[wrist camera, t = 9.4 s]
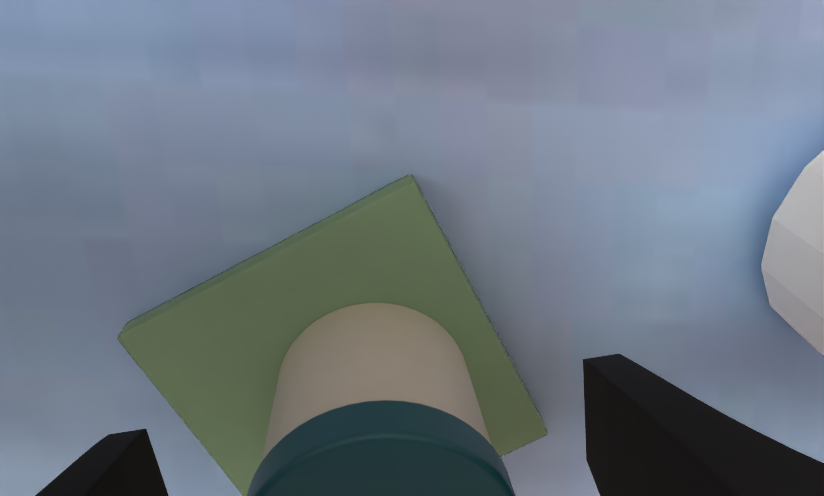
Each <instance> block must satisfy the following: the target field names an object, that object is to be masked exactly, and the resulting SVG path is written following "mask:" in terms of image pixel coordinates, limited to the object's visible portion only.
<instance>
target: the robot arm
mask: <svg viewBox="0 0 824 496" xmlns="http://www.w3.org/2000/svg"><path fill="white" fill-rule="evenodd" d="M583 372H584V400H585V429H586V457H587V462H588V465H589V467H590V470H591V473H592V475H593V478H594V480H595V483H596V486H597V488H598V491H599V493H600V496H824V463H822V462H820V461H817V460H815V459H813V458H811V457H809V456H806V455H804V454H802V453H800V452H798V451H796V450H793V449H791V448H789V447H787V446H785V445H783V444H781V443H779V442H777V441H775V440H773V439H771V438H769V437H767V436H765V435H763V434H761V433H759V432H757V431H755V430H753V429H751V428H749V427H747V426H746V425H744V424H742V423H740V422H738V421H736V420H734V419H732V418H731V417H729V416H727V415H725V414H723V413H721V412H720V411H718V410H716V409H714V408H712V407H711V406H709V405H707V404H705V403H704V402H702V401H700V400H698V399H697V398H695V397H693V396H691V395H690V394H688V393H686V392H684V391H683V390H681V389H679V388H678V387H676V386H674V385H673V384H671V383H669V382H668V381H666V380H664V379H662V378H661V377H659V376H657V375H656V374H654V373H652V372H651V371H649V370H647V369H646V368H644V367H642V366H641V365H639V364H637V363H635V362H634V361H632V360H630V359H628V358H626V357H624V356H623V355H621V354H615V355H608V356H602V357H596V358H589V359H583ZM36 496H168V493H167V490H166V487H165V484H164V481H163V478H162V475H161V472H160V469H159V466H158V463H157V460H156V457H155V454H154V451H153V448H152V445H151V442H150V439H149V436H148V433H147V430H146V429H141V430H134V431H128V432H122V433H115V434H109V435H107V436H106V437H104V438H103V439H102V440H100V441H99V442H98V443H96V444H95V445H94V446H93V447H91V448H90V449H89V450H88V451H87V452H85V453H84V454H83V455H82V456H81V457H79V458H78V459H77V460H76V461H75V462H74V463H72V464H71V465H70V466H69V467H68V468H67V469H66V470H64V471H63V472H62V473H61V474H60V475H59V476H57V477H56V478H55V479H54V480H53V481H52V482H51V483H49V484H48V485H47V486H46V487H45V488H44V489H43V490H41V491H40V492H39V493H38V494H37V495H36Z"/></svg>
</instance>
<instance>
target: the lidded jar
mask: <svg viewBox="0 0 824 496" xmlns="http://www.w3.org/2000/svg"><path fill="white" fill-rule="evenodd" d="M247 496H515V493H514V490H513V487H512V484H511V481H510V478H509V475H508V472H507V470H506V468H505V465H504V463H503V461H502V459H501V457H500V456H499V455H498V453H497V452H496V450H495V449H494V447H493V446H492V445H491V442H490V439H489V435H488V432H487V429H486V426H485V423H484V420H483V416H482V413H481V410H480V407H479V404H478V401H477V398H476V394H475V391H474V388H473V385H472V382H471V379H470V375H469V372H468V369H467V366H466V363H465V360H464V357H463V354H462V352H461V350H460V348H459V346H458V345H457V343H456V342H455V340H454V339H453V337H452V336H451V335H450V334H449V333H448V332H447V331H446V330H445V329H444V328H443V327H442V326H441V325H440V324H438V323H437V322H436V321H434V320H433V319H431V318H430V317H428V316H427V315H425V314H423V313H420V312H418V311H416V310H414V309H411V308H407V307H404V306H400V305H395V304H390V303H363V304H357V305H351V306H348V307H344V308H341V309H338V310H336V311H333V312H331V313H329V314H327V315H325V316H323V317H321V318H320V319H318V320H316V321H315V322H314V323H312V324H311V325H310V326H308V327H307V328H306V329H305V330H304V331H303V332H302V333H301V334H300V335H299V336H298V337H297V338H296V339H295V341H294V342H293V343H292V345H291V346H290V348H289V350H288V351H287V353H286V355H285V357H284V359H283V362H282V365H281V368H280V372H279V377H278V382H277V387H276V392H275V397H274V402H273V407H272V412H271V417H270V422H269V427H268V432H267V436H266V441H265V446H264V451H263V456H262V461H261V464H260V465H259V467H258V469H257V471H256V472H255V474H254V476H253V479H252V481H251V484H250V487H249V489H248V493H247Z"/></svg>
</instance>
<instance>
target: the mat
mask: <svg viewBox="0 0 824 496" xmlns="http://www.w3.org/2000/svg"><path fill="white" fill-rule="evenodd" d="M363 303H390V304H395V305H400V306H404V307H407V308H411V309H414V310H416V311H418V312H420V313H423V314H425V315H427V316H428V317H430V318H431V319H433V320H434V321H436V322H437V323H438V324H440V325H441V326H442V327H443V328H444V329H445V330H446V331H447V332H448V333H449V334H450V335H451V336H452V337H453V339H454V340H455V342H456V343H457V345H458V346H459V348H460V350H461V352H462V354H463V357H464V360H465V363H466V366H467V369H468V372H469V375H470V379H471V382H472V385H473V388H474V391H475V394H476V398H477V401H478V404H479V407H480V410H481V413H482V416H483V420H484V423H485V426H486V429H487V432H488V435H489V439H490V442H491V445H492V446H493V447H494V449H495V450H496V452H497V453H498V455H499V456H500V457H501V456H503V455H505V454H507V453H509V452H511V451H513V450H516V449H518V448H520V447H522V446H524V445H526V444H528V443H530V442H532V441H534V440H537V439H539V438H541V437H543V436H545V435H546V434H547V429H546V427H545V425H544V423H543V420H542V418H541V416H540V414H539V412H538V411H537V409H536V407H535V405H534V403H533V401H532V399H531V397H530V396H529V394H528V392H527V390H526V388H525V386H524V384H523V382H522V380H521V379H520V377H519V375H518V373H517V371H516V369H515V367H514V365H513V364H512V362H511V360H510V358H509V356H508V354H507V352H506V350H505V349H504V347H503V345H502V343H501V341H500V339H499V337H498V335H497V333H496V332H495V330H494V328H493V326H492V324H491V322H490V320H489V318H488V317H487V315H486V313H485V311H484V309H483V307H482V305H481V303H480V302H479V300H478V298H477V296H476V294H475V292H474V290H473V288H472V286H471V285H470V283H469V281H468V279H467V277H466V275H465V273H464V271H463V270H462V268H461V266H460V264H459V262H458V260H457V258H456V256H455V254H454V253H453V251H452V249H451V247H450V245H449V243H448V241H447V239H446V238H445V236H444V234H443V232H442V230H441V228H440V226H439V224H438V223H437V221H436V219H435V217H434V215H433V213H432V211H431V209H430V207H429V206H428V204H427V202H426V200H425V198H424V196H423V194H422V192H421V191H420V189H419V187H418V185H417V183H416V181H415V179H414V177H413V176H412V175H407V176H405V177H403V178H401V179H399V180H397V181H395V182H394V183H392V184H390V185H388V186H386V187H384V188H382V189H380V190H378V191H376V192H375V193H373V194H371V195H369V196H367V197H365V198H363V199H361V200H359V201H357V202H356V203H354V204H352V205H350V206H348V207H346V208H344V209H342V210H340V211H338V212H337V213H335V214H333V215H331V216H329V217H327V218H325V219H323V220H321V221H319V222H318V223H316V224H314V225H312V226H310V227H308V228H306V229H304V230H302V231H300V232H299V233H297V234H295V235H293V236H291V237H289V238H287V239H285V240H283V241H281V242H280V243H278V244H276V245H274V246H272V247H270V248H268V249H266V250H264V251H262V252H261V253H259V254H257V255H255V256H253V257H251V258H249V259H247V260H245V261H243V262H242V263H240V264H238V265H236V266H234V267H232V268H230V269H228V270H226V271H225V272H223V273H221V274H219V275H217V276H215V277H213V278H211V279H209V280H207V281H206V282H204V283H202V284H200V285H198V286H196V287H194V288H192V289H190V290H188V291H187V292H185V293H183V294H181V295H179V296H177V297H175V298H173V299H171V300H169V301H168V302H166V303H164V304H162V305H160V306H158V307H156V308H154V309H152V310H150V311H149V312H147V313H145V314H143V315H141V316H139V317H137V318H135V319H133V320H131V321H130V322H128V323H127V324H126V325H125V327H124V328H123V329H122V331H121V332H120V334H119V335H118V336H117V338H118V340H119V342H120V343H121V344H122V345H123V347H124V348H125V349H126V350H127V352H128V353H129V354H130V355H131V357H132V358H133V359H134V360H135V361H136V363H137V364H138V365H139V366H140V368H141V369H142V370H143V371H144V373H145V374H146V375H147V376H148V378H149V379H150V380H151V381H152V383H153V384H154V385H155V386H156V388H157V389H158V390H159V391H160V393H161V394H162V395H163V396H164V398H165V399H166V400H167V401H168V403H169V404H170V405H171V406H172V408H173V409H174V410H175V411H176V413H177V414H178V415H179V416H180V418H181V419H182V420H183V421H184V423H185V424H186V425H187V426H188V428H189V429H190V430H191V431H192V433H193V434H194V435H195V436H196V438H197V439H198V440H199V441H200V443H201V444H202V445H203V446H204V447H205V449H206V450H207V451H208V452H209V454H210V455H211V456H212V457H213V459H214V460H215V461H216V462H217V464H218V465H219V466H220V467H221V469H222V470H223V471H224V472H225V474H226V475H227V476H228V477H229V479H230V480H231V481H232V482H233V484H234V485H235V486H236V487H237V489H238V490H239V491H240V492H241V494H242V495H243V496H247V493H248V489H249V487H250V484H251V481H252V479H253V476H254V474H255V472H256V471H257V469H258V467H259V465H260V464H261V461H262V456H263V451H264V446H265V441H266V436H267V432H268V427H269V422H270V417H271V412H272V407H273V402H274V397H275V392H276V387H277V382H278V377H279V372H280V368H281V365H282V362H283V359H284V357H285V355H286V353H287V351H288V350H289V348H290V346H291V345H292V343H293V342H294V341H295V339H296V338H297V337H298V336H299V335H300V334H301V333H302V332H303V331H304V330H305V329H306V328H307V327H308V326H310V325H311V324H312V323H314V322H315V321H316V320H318V319H320V318H321V317H323V316H325V315H327V314H329V313H331V312H333V311H336V310H338V309H341V308H344V307H348V306H351V305H357V304H363Z"/></svg>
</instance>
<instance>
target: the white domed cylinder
mask: <svg viewBox="0 0 824 496" xmlns="http://www.w3.org/2000/svg"><path fill="white" fill-rule="evenodd" d="M761 270H762V274H763V278H764V282H765V287H766V291H767V295H768V299H769V304H770V306H771V307H772V308H773V309H774V310H775V311H776V312H777V313H778V314H779V315H780V316H781V317H782V318H783V319H784V320H785V321H786V322H787V323H788V324H789V325H790V326H792V327H793V328H794V329H795V330H796V331H797V332H798V333H799V334H800V335H801V336H802V337H803V338H804V339H806V340H807V341H808V342H809V343H810V344H811V345H812V346H813V347H814V348H815V349H817V350H818V351H819V352H820V353H821V354H822V355H823V356H824V150H823V151H822V152H821V153H820V154H819V155H818V156H816V157H815V158H814V159H813V160H812V161H811V162H810V163H809V164H807V165H806V166H805V167H804V169H803V171H802V172H801V174H800V175H799V177H798V178H797V180H796V181H795V183H794V185H793V186H792V188H791V189H790V191H789V192H788V194H787V196H786V197H785V199H784V200H783V202H782V203H781V205H780V206H779V208H778V210H777V211H776V213H775V214H774V216H773V217H772V221H771V225H770V229H769V234H768V238H767V242H766V247H765V251H764V255H763V259H762V264H761Z"/></svg>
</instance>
